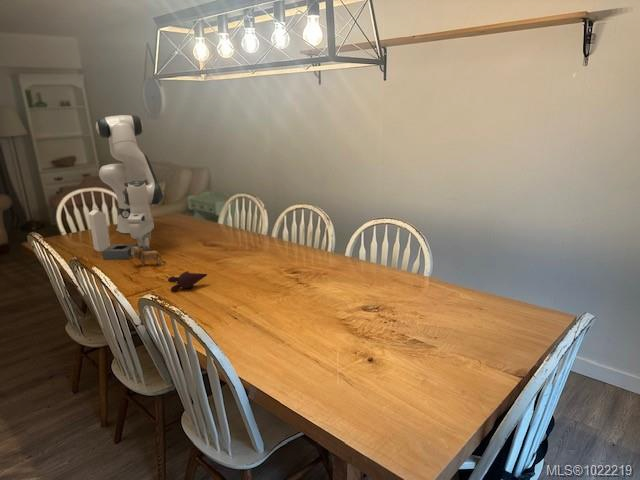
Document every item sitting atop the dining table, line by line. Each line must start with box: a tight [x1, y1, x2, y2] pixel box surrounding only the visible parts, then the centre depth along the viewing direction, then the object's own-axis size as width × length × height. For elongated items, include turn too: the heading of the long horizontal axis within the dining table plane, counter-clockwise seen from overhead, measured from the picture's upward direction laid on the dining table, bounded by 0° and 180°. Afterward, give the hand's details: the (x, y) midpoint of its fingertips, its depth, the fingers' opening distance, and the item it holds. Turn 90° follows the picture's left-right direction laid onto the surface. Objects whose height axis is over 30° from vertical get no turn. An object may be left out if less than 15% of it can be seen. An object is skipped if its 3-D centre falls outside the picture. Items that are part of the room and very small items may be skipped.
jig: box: [101, 243, 139, 260], centre depth 221 cm, size 12×13×4 cm
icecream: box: [167, 270, 208, 292], centre depth 179 cm, size 7×7×15 cm
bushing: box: [140, 235, 151, 251], centre depth 223 cm, size 4×4×8 cm
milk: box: [87, 206, 111, 253], centre depth 228 cm, size 6×6×22 cm
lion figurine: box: [131, 246, 167, 267], centre depth 206 cm, size 15×5×9 cm, turn 95°
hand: (144, 242), depth 222 cm, fingers open, 8 cm apart
